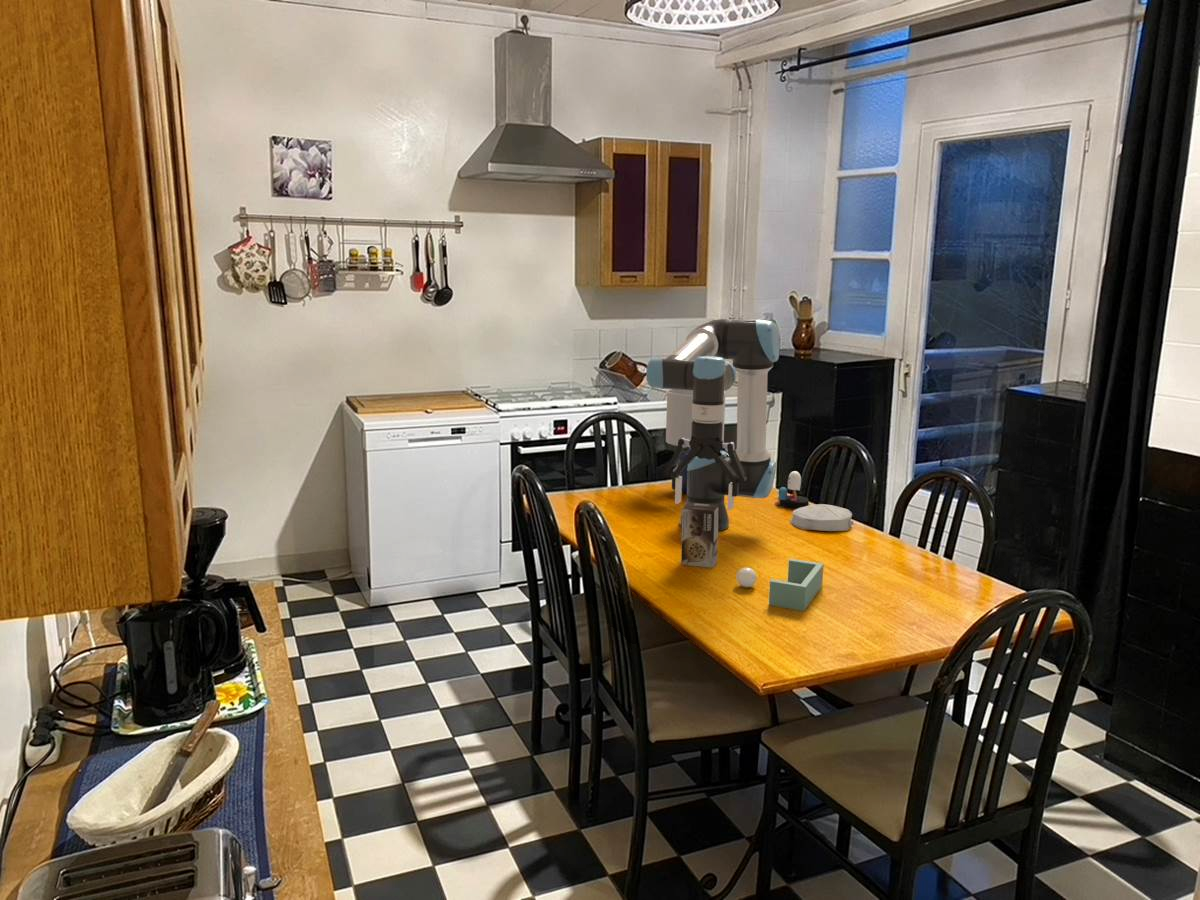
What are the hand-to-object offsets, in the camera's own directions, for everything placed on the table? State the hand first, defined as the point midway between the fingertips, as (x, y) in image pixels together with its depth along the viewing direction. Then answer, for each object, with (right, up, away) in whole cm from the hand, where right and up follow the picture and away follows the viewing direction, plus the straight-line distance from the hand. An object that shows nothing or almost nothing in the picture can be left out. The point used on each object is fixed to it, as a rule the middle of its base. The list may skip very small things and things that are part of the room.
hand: (704, 505), depth 222 cm
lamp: (+8, -1, +100) cm, 100 cm away
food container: (+45, -10, +63) cm, 78 cm away
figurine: (+39, -5, +84) cm, 93 cm away
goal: (+22, -22, 0) cm, 31 cm away
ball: (+11, -18, +5) cm, 22 cm away
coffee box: (+1, -17, +23) cm, 29 cm away
